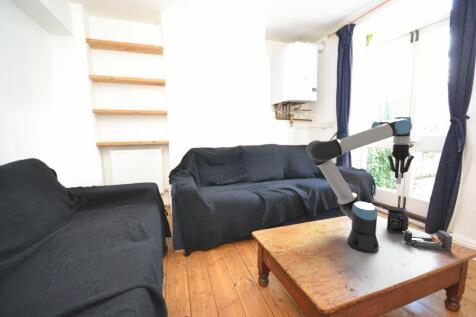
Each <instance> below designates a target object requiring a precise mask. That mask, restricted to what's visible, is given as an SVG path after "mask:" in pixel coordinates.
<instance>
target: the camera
mask: <svg viewBox="0 0 476 317" xmlns="http://www.w3.org/2000/svg"><path fill="white" fill-rule="evenodd" d="M387 209H388V210H387V224H386V231H387V232H390V233H395V234H399V235H403V233H405V230H408V231H409V219H410V218H409V216H408V215H407V214H408V212H407V211H408V209H406V208H404V207H400V206H399V207H398V206H392V205H391V206H390V205H389V206H388V208H387Z"/></svg>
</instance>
